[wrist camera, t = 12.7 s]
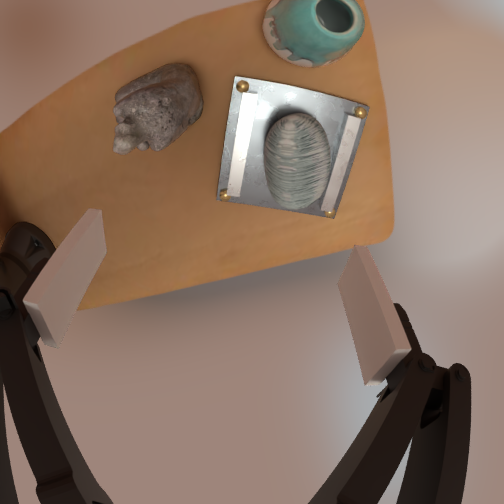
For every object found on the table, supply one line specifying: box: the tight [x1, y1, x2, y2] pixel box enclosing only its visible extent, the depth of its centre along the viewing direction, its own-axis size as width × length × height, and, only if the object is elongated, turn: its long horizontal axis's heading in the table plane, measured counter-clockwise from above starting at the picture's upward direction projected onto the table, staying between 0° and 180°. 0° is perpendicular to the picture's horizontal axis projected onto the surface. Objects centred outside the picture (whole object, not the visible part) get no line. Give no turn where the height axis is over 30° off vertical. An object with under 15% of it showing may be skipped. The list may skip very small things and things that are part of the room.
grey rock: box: [264, 113, 331, 210], centre depth 40 cm, size 14×10×10 cm
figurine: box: [113, 64, 203, 155], centre depth 32 cm, size 13×12×18 cm
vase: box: [262, 0, 365, 68], centre depth 26 cm, size 12×12×18 cm
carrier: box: [217, 76, 369, 219], centre depth 43 cm, size 20×20×3 cm
